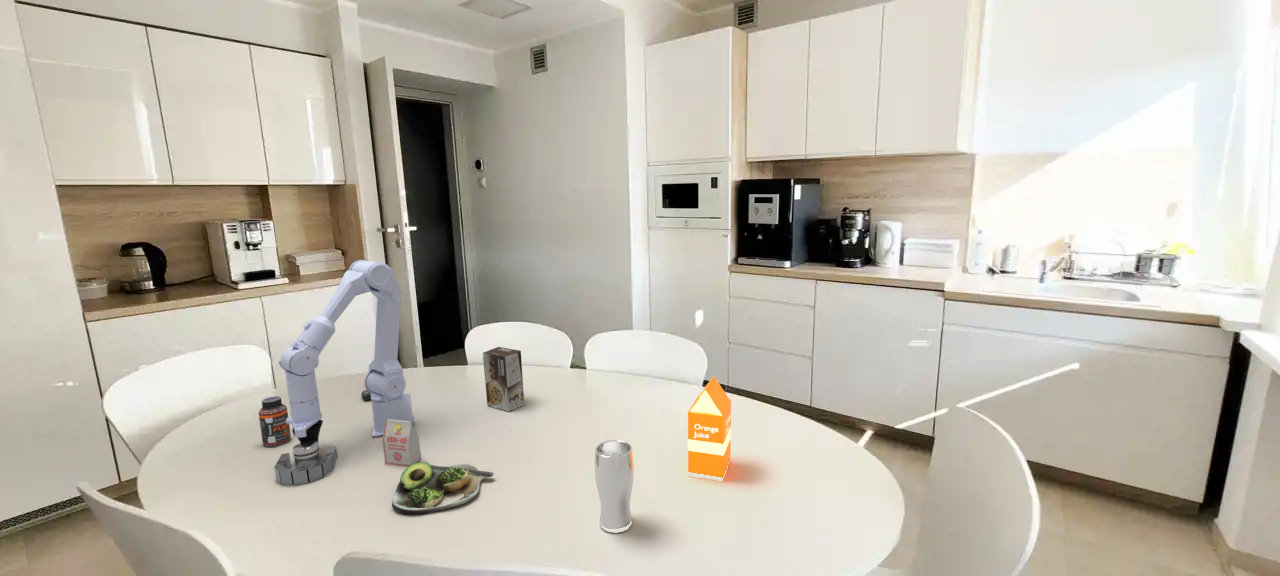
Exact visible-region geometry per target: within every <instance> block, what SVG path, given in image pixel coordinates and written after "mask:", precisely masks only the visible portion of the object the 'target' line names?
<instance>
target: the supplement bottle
mask: <svg viewBox="0 0 1280 576" xmlns="http://www.w3.org/2000/svg"><path fill="white" fill-rule="evenodd" d="M287 418H289V413H288V408H287V405H286V404H283V403H282V397H281V396H279V395H277V396H276V395H275V396H269V397H265V398H263V399H262V400H261V408H260V409H259V410H258V420H259V426H260V432H261V441H262V445H264V446H265V447H276V446H281V445H283V444H286V443H287V442H289V441H290V440H291V436H292V435H291V431H292V430H291V428H290V423H289V424H287V423H286V420H287Z"/></svg>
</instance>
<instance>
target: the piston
mask: <svg viewBox="0 0 1280 576" xmlns="http://www.w3.org/2000/svg"><path fill="white" fill-rule="evenodd" d="M292 454H293V459H294V460H293V461H294V465H295V469H298V468H304V467H308V466H311V465H314V464H316V463H318V462H320V461H321V460H322V457H321V450H320V443H319V441H318V442H317V441H306V442H302V443H300V442H299V443H297V444H295V445H294V446H293V447H292Z"/></svg>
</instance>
